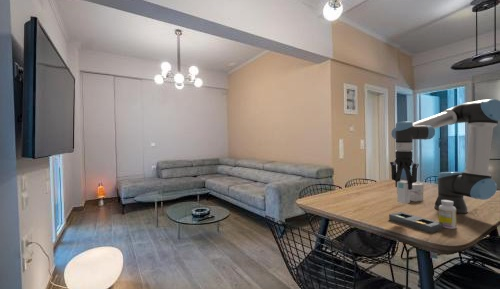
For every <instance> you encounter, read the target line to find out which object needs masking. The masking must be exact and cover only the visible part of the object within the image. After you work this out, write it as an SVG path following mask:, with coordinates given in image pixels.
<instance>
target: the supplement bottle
mask: <svg viewBox="0 0 500 289" xmlns="http://www.w3.org/2000/svg"><path fill="white" fill-rule="evenodd" d="M441 203H442V205H440V206H439V210H438V222H441V223H443V229H444V228H445V229H452V230H454V229H456V228H457V213H456V208H455V207H454V206H453V204H454V202H453V201H450V200H441Z"/></svg>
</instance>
